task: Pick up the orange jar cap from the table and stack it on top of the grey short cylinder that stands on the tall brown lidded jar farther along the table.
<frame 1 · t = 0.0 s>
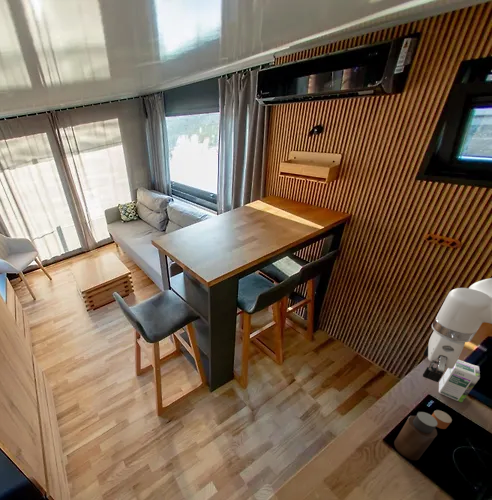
hand: (430, 367, 79), 25 cm above the table, tool pointing down, fingers open, 9 cm apart
syrup box: (449, 392, 94), on the table
grey short cylinder: (422, 426, 75), point 14 cm above the table, touching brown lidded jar
orange jar cap: (438, 422, 87), on the table
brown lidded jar: (406, 449, 82), on the table
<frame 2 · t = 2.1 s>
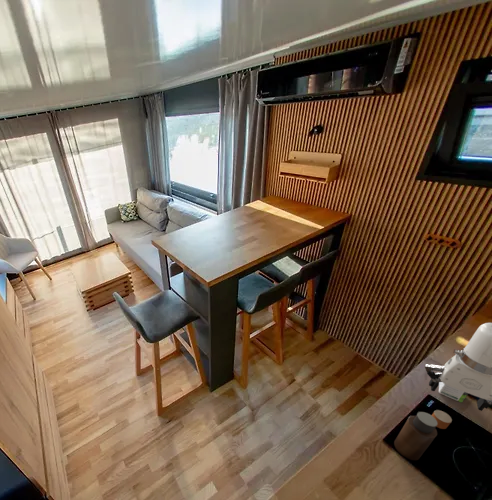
hand: (454, 396, 80), 15 cm above the table, tool pointing down, fingers open, 9 cm apart
nothing on the table moved.
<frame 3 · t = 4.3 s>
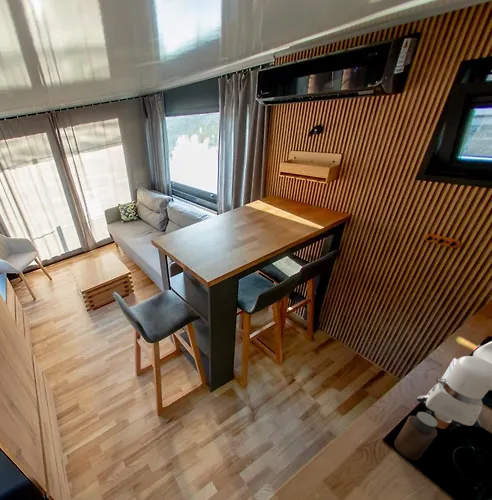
hand: (438, 422, 86), 0 cm above the table, tool pointing down, fingers closed on orange jar cap, 4 cm apart
orange jar cap: (438, 422, 87), on the table, touching gripper
everything else where it was.
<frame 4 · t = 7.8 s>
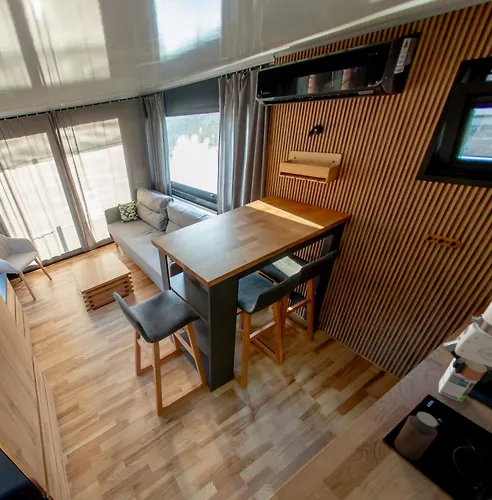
hand: (469, 374, 72), 30 cm above the table, tool pointing down, fingers closed on orange jar cap, 4 cm apart
orange jar cap: (469, 374, 72), point 29 cm above the table, touching gripper
everything else where it was.
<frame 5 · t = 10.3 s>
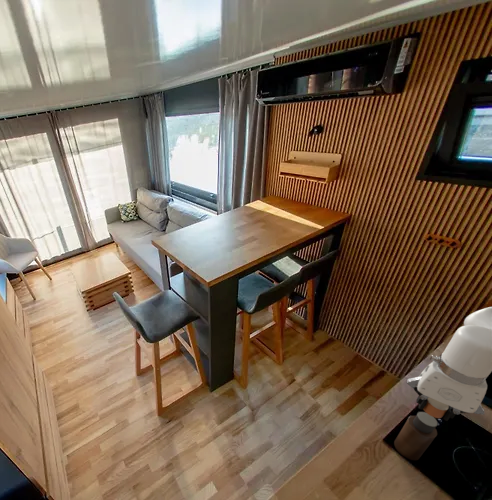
hand: (432, 410, 71), 22 cm above the table, tool pointing down, fingers closed on orange jar cap, 4 cm apart
orange jar cap: (432, 410, 71), point 22 cm above the table, touching gripper
everything else where it was.
when the fingers open (18 cm above the table, at t = 11.7 s): orange jar cap stays where it is, resting on grey short cylinder.
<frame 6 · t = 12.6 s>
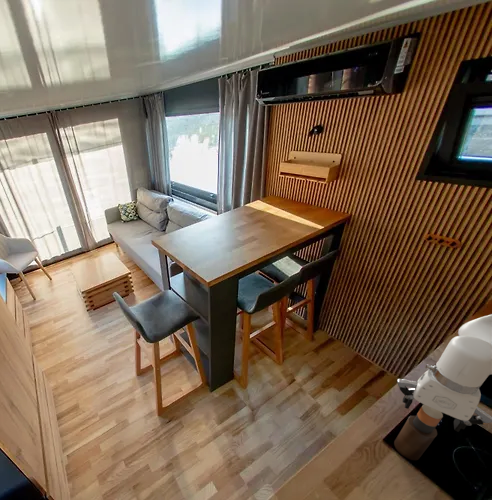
hand: (430, 415, 72), 20 cm above the table, tool pointing down, fingers open, 9 cm apart
grey short cylinder: (422, 426, 75), point 14 cm above the table, touching orange jar cap, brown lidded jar
orange jar cap: (427, 418, 73), point 18 cm above the table, touching grey short cylinder
everything else where it was.
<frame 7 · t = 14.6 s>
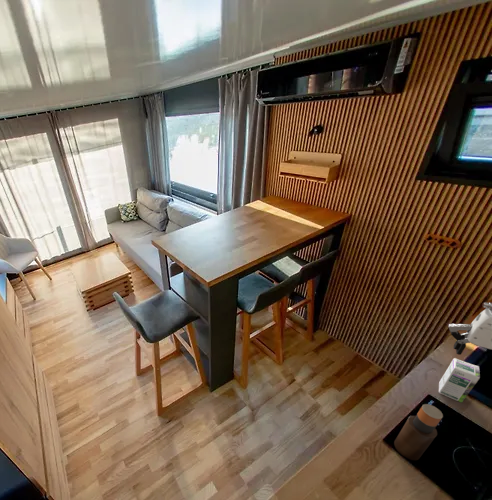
hand: (484, 359, 70), 34 cm above the table, tool pointing down, fingers open, 9 cm apart
nothing on the table moved.
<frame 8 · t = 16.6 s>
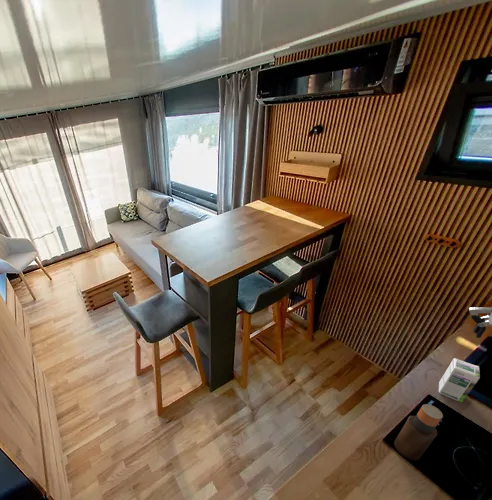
nothing on the table moved.
at the end: orange jar cap 0.1 cm off-centre on the grey short cylinder, point 4.0 cm above the grey short cylinder's base; orange jar cap tilted 0°; the gripper is holding nothing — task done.
